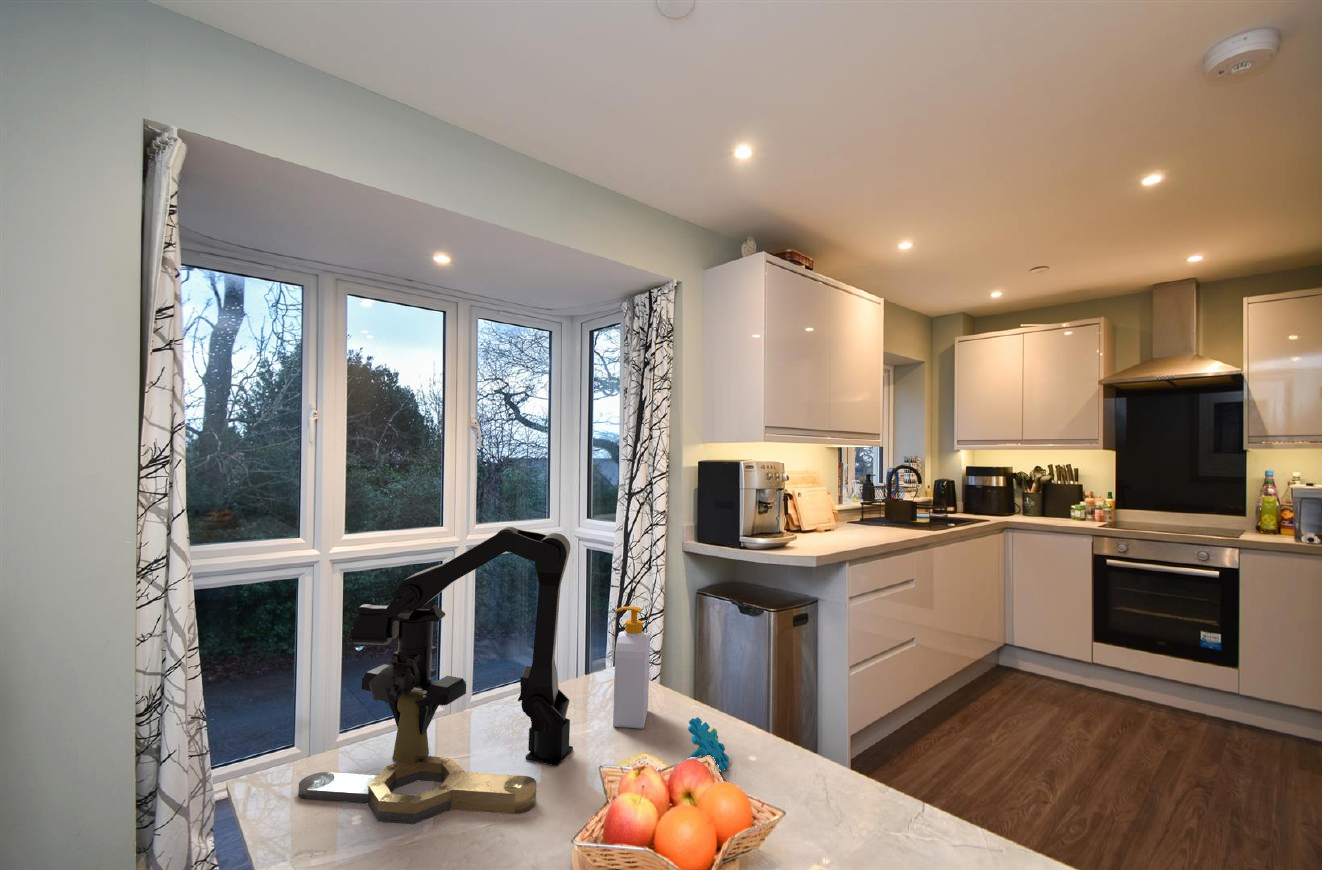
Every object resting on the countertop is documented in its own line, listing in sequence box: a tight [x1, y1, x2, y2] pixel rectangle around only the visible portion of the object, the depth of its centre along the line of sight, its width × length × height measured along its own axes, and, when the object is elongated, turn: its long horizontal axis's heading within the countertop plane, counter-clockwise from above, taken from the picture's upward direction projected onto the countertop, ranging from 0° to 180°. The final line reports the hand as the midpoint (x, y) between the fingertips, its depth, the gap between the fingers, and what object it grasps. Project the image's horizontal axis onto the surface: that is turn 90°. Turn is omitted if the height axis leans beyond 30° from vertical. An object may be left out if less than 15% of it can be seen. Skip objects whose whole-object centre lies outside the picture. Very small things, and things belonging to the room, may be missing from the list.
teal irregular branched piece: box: [687, 716, 730, 773], centre depth 106 cm, size 11×6×10 cm
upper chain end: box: [368, 755, 538, 815], centre depth 93 cm, size 26×13×3 cm, turn 86°
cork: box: [392, 689, 430, 763], centre depth 106 cm, size 6×6×11 cm
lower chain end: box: [297, 771, 452, 825], centre depth 94 cm, size 26×13×2 cm, turn 86°
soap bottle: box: [612, 605, 651, 729], centre depth 123 cm, size 9×7×23 cm
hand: (411, 732), depth 106 cm, fingers closed on cork, 4 cm apart
